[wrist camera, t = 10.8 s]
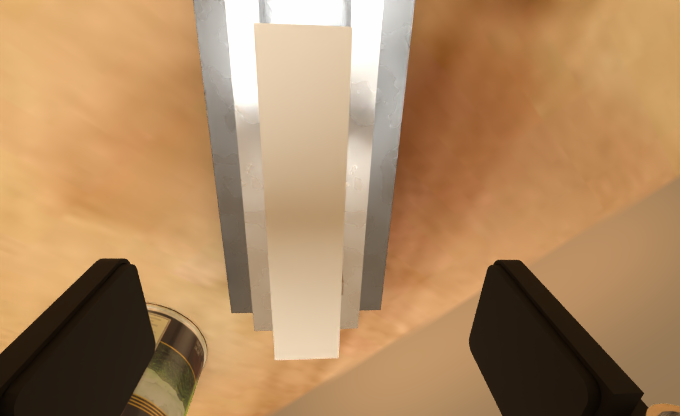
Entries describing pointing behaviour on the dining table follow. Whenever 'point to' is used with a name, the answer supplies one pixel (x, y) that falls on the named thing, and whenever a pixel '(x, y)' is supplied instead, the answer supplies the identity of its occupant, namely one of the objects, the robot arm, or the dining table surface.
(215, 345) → the dining table surface
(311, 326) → the door panel
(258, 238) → the door track
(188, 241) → the dining table surface
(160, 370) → the coffee can
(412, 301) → the dining table surface
